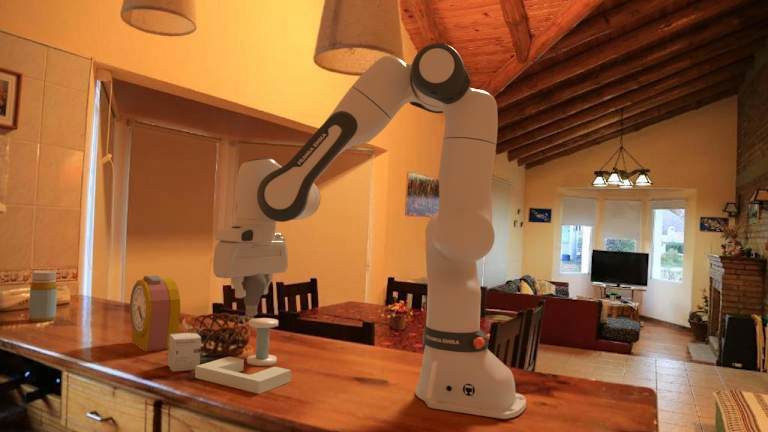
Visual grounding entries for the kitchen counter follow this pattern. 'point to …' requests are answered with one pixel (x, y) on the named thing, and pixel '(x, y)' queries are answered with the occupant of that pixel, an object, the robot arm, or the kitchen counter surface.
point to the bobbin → (262, 342)
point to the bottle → (43, 296)
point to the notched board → (242, 375)
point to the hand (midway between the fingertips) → (251, 295)
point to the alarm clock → (154, 312)
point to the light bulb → (253, 292)
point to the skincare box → (184, 351)
